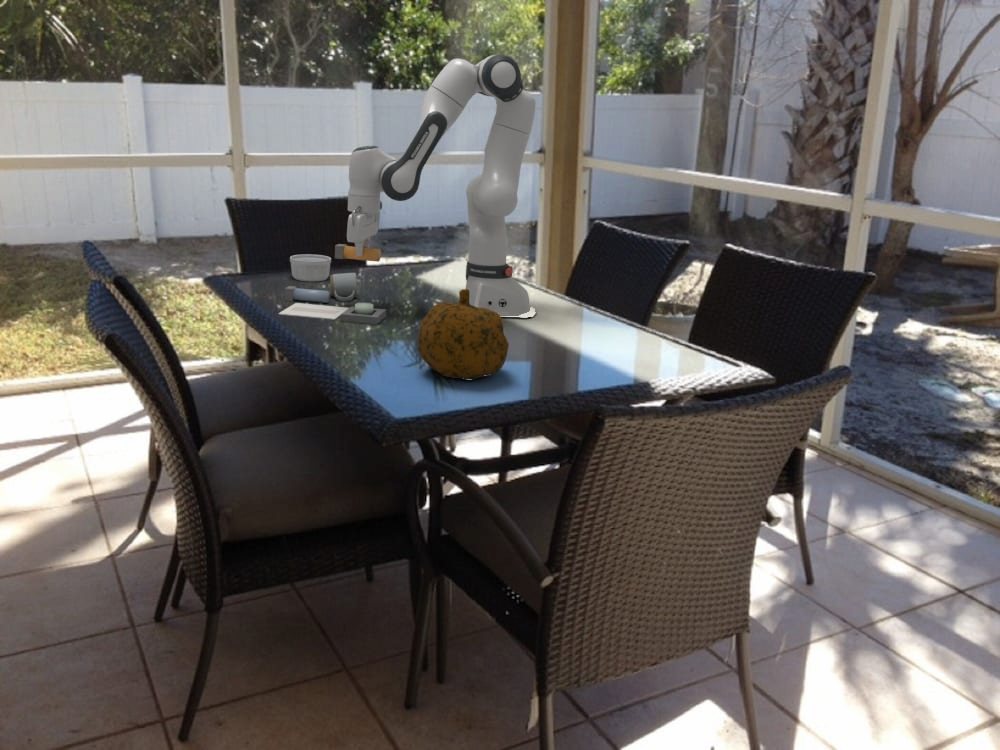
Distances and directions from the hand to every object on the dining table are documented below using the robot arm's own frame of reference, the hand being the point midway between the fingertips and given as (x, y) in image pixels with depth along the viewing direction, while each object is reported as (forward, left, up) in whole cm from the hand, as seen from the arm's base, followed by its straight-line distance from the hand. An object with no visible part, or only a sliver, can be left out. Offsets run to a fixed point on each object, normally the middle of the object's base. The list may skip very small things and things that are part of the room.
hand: (362, 254), depth 268 cm
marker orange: (+1, 0, -2) cm, 2 cm away
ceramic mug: (+8, -11, -16) cm, 21 cm away
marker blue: (+17, -3, -16) cm, 23 cm away
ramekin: (+27, -35, -16) cm, 47 cm away
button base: (-4, +12, -16) cm, 20 cm away
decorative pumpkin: (-39, +54, -16) cm, 69 cm away
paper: (+11, +9, -16) cm, 21 cm away
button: (-4, +12, -14) cm, 19 cm away
